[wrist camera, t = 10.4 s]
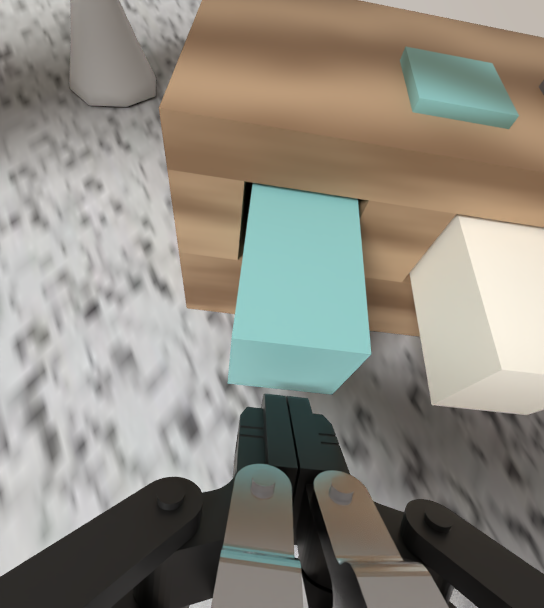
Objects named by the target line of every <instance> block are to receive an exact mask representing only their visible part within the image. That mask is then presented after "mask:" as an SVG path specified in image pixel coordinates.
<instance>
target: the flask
mask: <svg viewBox="0 0 544 608" xmlns="http://www.w3.org/2000/svg"><path fill="white" fill-rule="evenodd" d="M70 5H71V46H70V89H71V90H72V91H73V92H74V93H76V94H77V95H78V96H79V97H80V98H81V99H83V100H84V101H85V102H86V103H87V104H88V105H94V106H120V107H128V106H130V105H133V104H136V103H138V102H141V101H144V100H147V99H149V98H152V97H155V96H156V77H155V75H154V72H153V70H152V68H151V66H150V64H149V62H148V60H147V58H146V56H145V54H144V52H143V50H142V48H141V46H140V44H139V42H138V40H137V38H136V36H135V34H134V32H133V29H132V27H131V25H130V23H129V21H128V19H127V16H126V14H125V12H124V10H123V8H122V6H121V3H120V1H119V0H70Z"/></svg>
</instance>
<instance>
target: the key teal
mask: <svg viewBox="0 0 544 608" xmlns="http://www.w3.org/2000/svg"><path fill="white" fill-rule="evenodd" d="M370 355H371V345H370V333H369V322H368V310H367V299H366V287H365V276H364V264H363V253H362V242H361V230H360V219H359V207H358V199H356V198H350V197H343V196H337V195H330V194H324V193H317V192H311V191H304V190H298V189H291V188H285V187H278V186H272V185H265V184H259V183H253V185H252V192H251V200H250V207H249V214H248V222H247V229H246V237H245V244H244V251H243V259H242V266H241V273H240V281H239V288H238V296H237V303H236V310H235V318H234V325H233V333H232V341H231V352H230V363H229V374H228V384H237V385H247V386H256V387H266V388H275V389H285V390H294V391H304V392H313V393H323V394H333V393H334V392H335V391H336V390H337V389H338V388H339V387H340V386H341V385H342V384H343V383H344V382H345V381H346V380H347V379H348V378H349V377H350V376H351V375H352V374H353V373H354V372H355V371H356V370H357V369H358V367H359V366H360V365H361V364H362V363H363V362H364V361H365V360H366V359H367V358H368V357H369V356H370Z"/></svg>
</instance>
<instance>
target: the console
mask: <svg viewBox="0 0 544 608" xmlns="http://www.w3.org/2000/svg"><path fill="white" fill-rule="evenodd" d="M159 113H160V120H161V127H162V134H163V141H164V148H165V156H166V163H167V170H168V177H169V184H170V191H171V198H172V206H173V213H174V220H175V227H176V234H177V241H178V248H179V256H180V263H181V270H182V277H183V284H184V291H185V298H186V306H187V308H190V309H198V310H206V311H214V312H222V313H231V314H235V310H236V303H237V296H238V288H239V281H240V273H241V266H242V259H243V251H244V244H245V237H246V229H247V222H248V214H249V207H250V200H251V192H252V185H253V183H259V184H265V185H272V186H278V187H285V188H291V189H298V190H304V191H311V192H317V193H324V194H330V195H337V196H343V197H350V198H356V199H358V207H359V219H360V230H361V242H362V253H363V264H364V276H365V287H366V299H367V310H368V322H369V330H370V331H378V332H386V333H394V334H403V335H411V336H419V337H420V332H419V327H418V321H417V315H416V309H415V303H414V297H413V291H412V285H411V279H410V271H411V270H412V269H413V268H414V266H415V265H416V264H417V263H418V261H419V260H420V259H421V258H422V256H423V255H424V254H425V253H426V252H427V250H428V249H429V248H430V247H431V245H432V244H433V243H434V242H435V240H436V239H437V238H438V237H439V235H440V234H441V233H442V232H443V230H444V229H445V228H446V227H447V225H448V224H449V223H450V222H451V220H452V219H453V218H454V217H455V215H456V214H460V215H467V216H473V217H480V218H486V219H493V220H499V221H506V222H512V223H519V224H525V225H532V226H538V227H544V38H542V37H538V36H533V35H528V34H523V33H518V32H513V31H508V30H503V29H498V28H493V27H488V26H483V25H478V24H473V23H469V22H463V21H459V20H453V19H449V18H443V17H439V16H434V15H428V14H424V13H419V12H414V11H409V10H404V9H399V8H394V7H389V6H384V5H379V4H374V3H369V2H364V1H359V0H202V2H201V4H200V7H199V9H198V12H197V14H196V17H195V19H194V22H193V24H192V27H191V29H190V32H189V34H188V37H187V39H186V42H185V44H184V47H183V49H182V52H181V54H180V57H179V59H178V62H177V64H176V67H175V69H174V72H173V74H172V77H171V79H170V82H169V84H168V87H167V89H166V91H165V94H164V96H163V99H162V101H161V104H160V106H159Z"/></svg>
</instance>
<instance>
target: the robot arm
mask: <svg viewBox="0 0 544 608" xmlns="http://www.w3.org/2000/svg"><path fill="white" fill-rule="evenodd" d="M294 545H298V553H299V556H298V558H295V557H294ZM454 588H455V589H457V590H458V591H459V592H460V593H462V594H463V595H464V596H465V597H466V598H468V599H469V600H470V601H471V602H472V603H474V604H475V605H476V606H477V607H478V608H544V574H543V573H541V572H540V571H538V570H537V569H535V568H534V567H532V566H531V565H529V564H528V563H526V562H525V561H524V560H522V559H521V558H519V557H518V556H516V555H515V554H513V553H512V552H510V551H509V550H507V549H506V548H505V547H503V546H502V545H500V544H499V543H497V542H496V541H494V540H493V539H491V538H490V537H489V536H487V535H486V534H484V533H483V532H481V531H480V530H478V529H477V528H475V527H474V526H472V525H471V524H470V523H468V522H467V521H465V520H464V519H462V518H461V517H459V516H458V515H456V514H455V513H453V512H452V511H451V510H449V509H447V508H446V507H444V506H442V505H440V504H438V503H436V502H433V501H430V500H425V499H416V500H412V501H410V502H409V503H408V504H407V506H406V508H405V512H401V511H398V510H395V509H392V508H390V507H387V506H384V505H381V504H379V503H376V502H374V501H373V500H372V498H371V496H370V494H369V492H368V490H367V489H366V487H365V486H364V485H363V484H362V483H361V482H360V481H359V480H358V479H356V478H355V477H353V476H352V475H350V473H349V470H348V467H347V464H346V462H345V459H344V456H343V454H342V451H341V448H340V446H339V443H338V440H337V437H335V432H334V429H333V426H332V424H331V423H330V422H329V421H328V420H327V419H326V418H325V417H324V416H323V415H320V414H313V413H312V410H311V406H310V403H309V400H308V398H300V397H291V396H286V397H285V396H281V395H272V394H264V395H263V399H262V406H261V408H253V407H247V408H246V409H245V410H244V411H243V412H242V414H241V415H240V421H239V428H238V435H237V442H236V450H235V458H234V471H233V479H232V480H231V481H230V482H229V483H228V484H227V485H225V486H224V487H222V488H219V489H217V490H213V491H208V492H203V493H202V492H201V490H200V488H199V487H198V486H197V485H196V484H195V483H193V482H192V481H190V480H188V479H185V478H181V477H166V478H162V479H159V480H156V481H154V482H152V483H150V484H149V485H147V486H145V487H144V488H142V489H141V490H139V491H137V492H136V493H134V494H133V495H131V496H129V497H128V498H126V499H125V500H123V501H121V502H120V503H118V504H117V505H115V506H113V507H112V508H110V509H109V510H107V511H105V512H104V513H102V514H100V515H99V516H97V517H96V518H94V519H92V520H91V521H89V522H88V523H86V524H84V525H83V526H81V527H80V528H78V529H76V530H75V531H73V532H72V533H70V534H68V535H67V536H65V537H64V538H62V539H60V540H59V541H57V542H55V543H54V544H52V545H51V546H49V547H47V548H46V549H44V550H43V551H41V552H39V553H38V554H36V555H35V556H33V557H31V558H30V559H28V560H27V561H25V562H23V563H22V564H20V565H19V566H17V567H15V568H14V569H12V570H10V571H9V572H7V573H6V574H4V575H2V576H1V577H0V608H189V606H190V605H191V604H195V603H198V602H201V601H204V600H207V599H211V598H213V599H212V605H211V608H456V607H455V606H454V605H453V604H452V603H451V602H450V601H449V600H450V597H451V594H452V591H453V589H454Z"/></svg>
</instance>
